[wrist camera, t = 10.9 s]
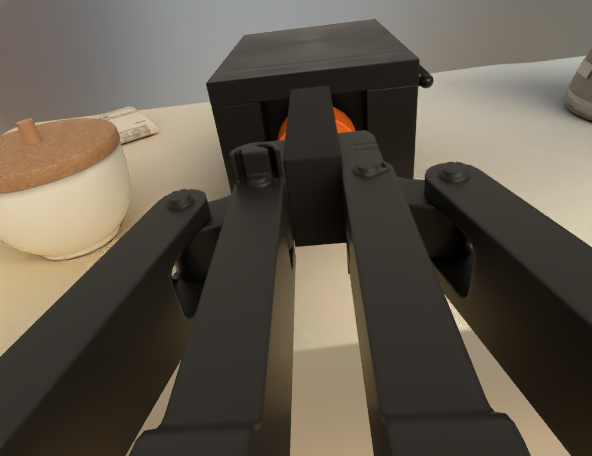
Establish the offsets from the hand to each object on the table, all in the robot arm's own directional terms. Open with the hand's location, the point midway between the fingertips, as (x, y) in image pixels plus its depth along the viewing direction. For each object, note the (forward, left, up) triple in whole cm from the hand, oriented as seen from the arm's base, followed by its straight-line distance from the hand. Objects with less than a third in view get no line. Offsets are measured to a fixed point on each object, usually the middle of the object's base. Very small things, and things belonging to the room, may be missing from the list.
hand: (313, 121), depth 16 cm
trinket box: (+21, -5, -11) cm, 24 cm away
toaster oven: (+3, -16, -11) cm, 20 cm away
